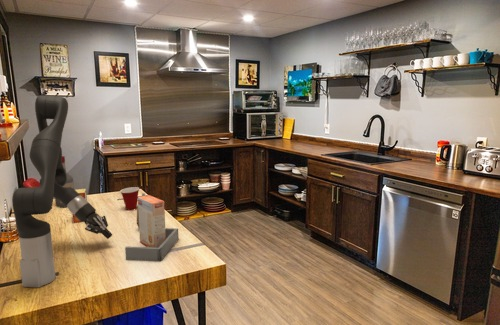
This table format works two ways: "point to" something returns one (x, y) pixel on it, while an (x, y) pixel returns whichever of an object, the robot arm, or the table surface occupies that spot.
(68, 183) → the liquor
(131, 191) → the plastic cup
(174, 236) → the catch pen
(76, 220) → the baking soda box
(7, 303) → the table surface
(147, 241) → the cracker box
